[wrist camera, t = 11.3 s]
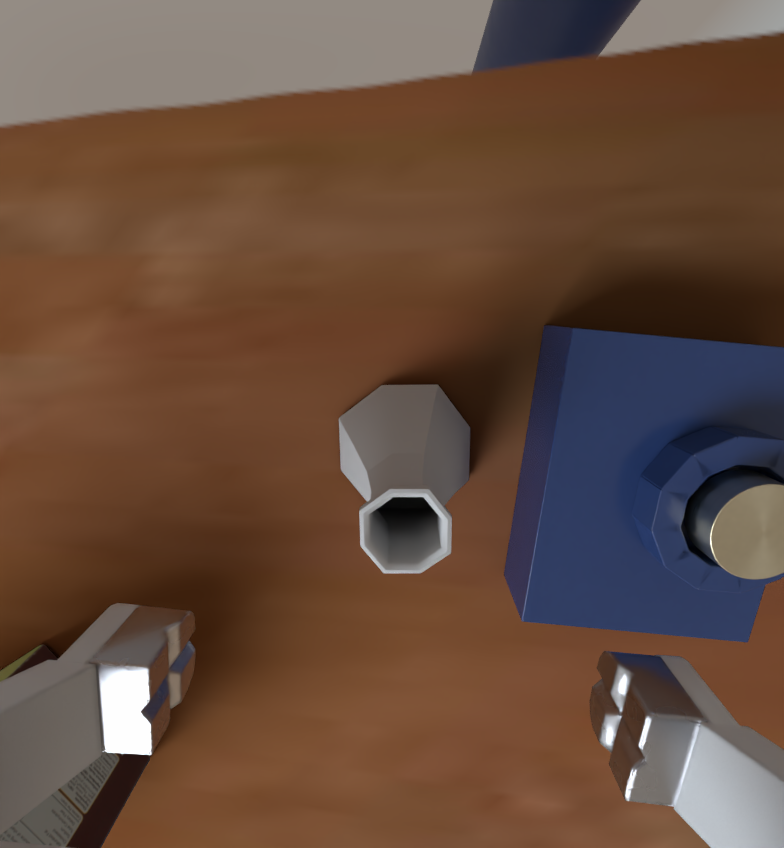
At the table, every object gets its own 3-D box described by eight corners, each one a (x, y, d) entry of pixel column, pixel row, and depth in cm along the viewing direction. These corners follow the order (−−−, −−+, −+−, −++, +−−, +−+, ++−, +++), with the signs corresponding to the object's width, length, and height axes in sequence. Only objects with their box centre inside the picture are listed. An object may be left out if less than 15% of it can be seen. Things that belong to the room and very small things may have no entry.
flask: (489, 487, 26) (540, 594, 16) (364, 526, 27) (341, 651, 17) (448, 361, 24) (479, 395, 15) (317, 406, 25) (262, 467, 15)
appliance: (543, 324, 24) (590, 329, 18) (762, 345, 24) (879, 356, 18) (503, 574, 27) (531, 647, 21) (695, 592, 27) (776, 670, 21)
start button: (697, 464, 19) (725, 479, 18) (793, 473, 19) (831, 489, 18) (674, 553, 20) (699, 574, 19) (767, 561, 20) (800, 584, 19)
